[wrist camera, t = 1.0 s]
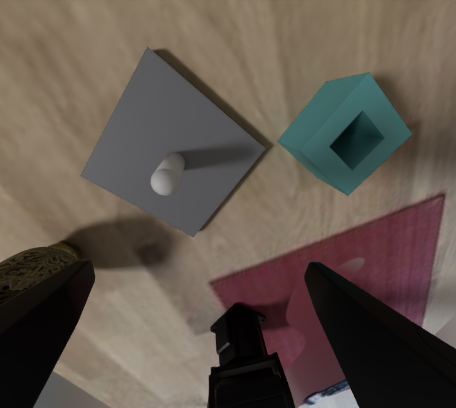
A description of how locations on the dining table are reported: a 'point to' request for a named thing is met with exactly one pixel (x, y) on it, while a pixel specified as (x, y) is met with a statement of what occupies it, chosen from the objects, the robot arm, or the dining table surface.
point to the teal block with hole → (346, 132)
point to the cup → (34, 267)
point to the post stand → (170, 148)
